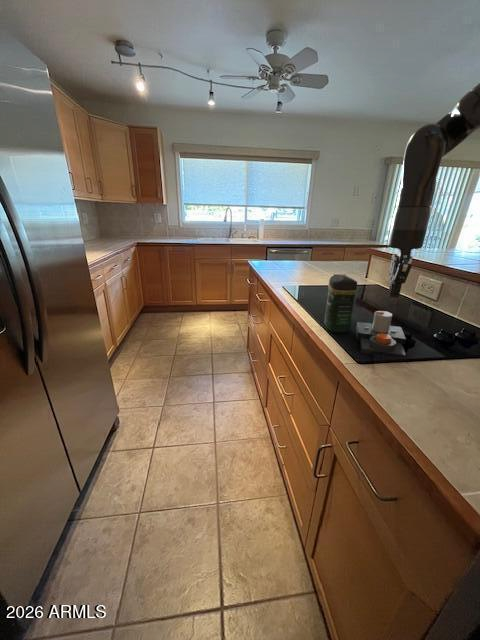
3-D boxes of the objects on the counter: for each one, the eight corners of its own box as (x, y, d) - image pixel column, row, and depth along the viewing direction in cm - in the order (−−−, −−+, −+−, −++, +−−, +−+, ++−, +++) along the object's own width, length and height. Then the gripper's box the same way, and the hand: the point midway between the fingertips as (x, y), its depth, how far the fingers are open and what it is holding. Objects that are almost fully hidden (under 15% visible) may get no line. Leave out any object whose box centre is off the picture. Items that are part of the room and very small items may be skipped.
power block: (400, 348, 78) (403, 337, 76) (404, 360, 72) (407, 349, 70) (360, 342, 81) (362, 332, 80) (360, 353, 75) (362, 342, 74)
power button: (389, 339, 76) (390, 334, 75) (390, 345, 73) (392, 339, 72) (375, 337, 77) (376, 332, 77) (376, 343, 74) (377, 337, 74)
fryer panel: (399, 335, 85) (401, 326, 84) (403, 348, 78) (406, 338, 76) (356, 329, 90) (357, 321, 89) (356, 341, 82) (358, 332, 81)
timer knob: (388, 327, 84) (392, 311, 81) (389, 334, 80) (393, 316, 77) (371, 325, 85) (374, 309, 83) (371, 331, 81) (375, 314, 79)
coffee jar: (353, 334, 87) (362, 279, 79) (329, 334, 87) (336, 280, 79) (343, 322, 96) (350, 272, 88) (321, 322, 96) (327, 272, 88)
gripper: (434, 229, 56) (414, 305, 63) (420, 225, 67) (404, 289, 74) (395, 229, 58) (380, 302, 65) (387, 225, 70) (375, 287, 77)
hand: (393, 295), depth 70 cm, fingers closed
